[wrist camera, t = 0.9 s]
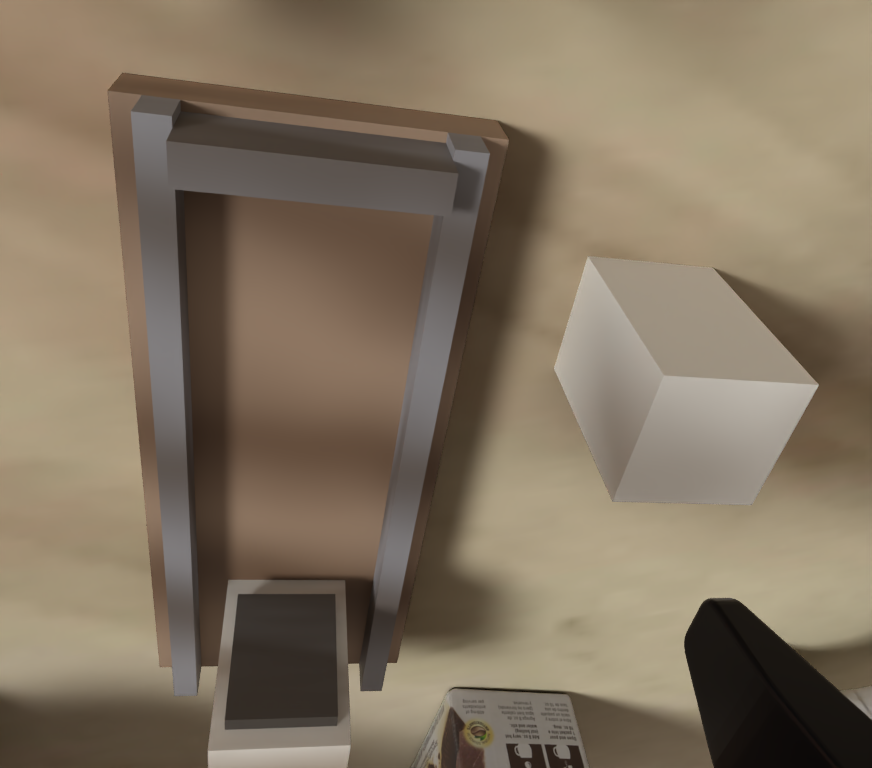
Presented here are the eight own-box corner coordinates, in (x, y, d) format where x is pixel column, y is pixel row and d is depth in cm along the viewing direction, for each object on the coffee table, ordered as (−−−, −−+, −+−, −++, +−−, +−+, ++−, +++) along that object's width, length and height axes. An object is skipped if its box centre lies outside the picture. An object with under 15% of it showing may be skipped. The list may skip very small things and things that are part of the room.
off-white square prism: (663, 387, 25) (744, 518, 20) (550, 380, 24) (606, 515, 20) (712, 267, 23) (819, 385, 18) (588, 255, 22) (663, 375, 17)
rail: (394, 630, 31) (411, 821, 25) (166, 632, 29) (127, 838, 23) (497, 120, 19) (579, 252, 13) (122, 73, 17) (17, 199, 11)
